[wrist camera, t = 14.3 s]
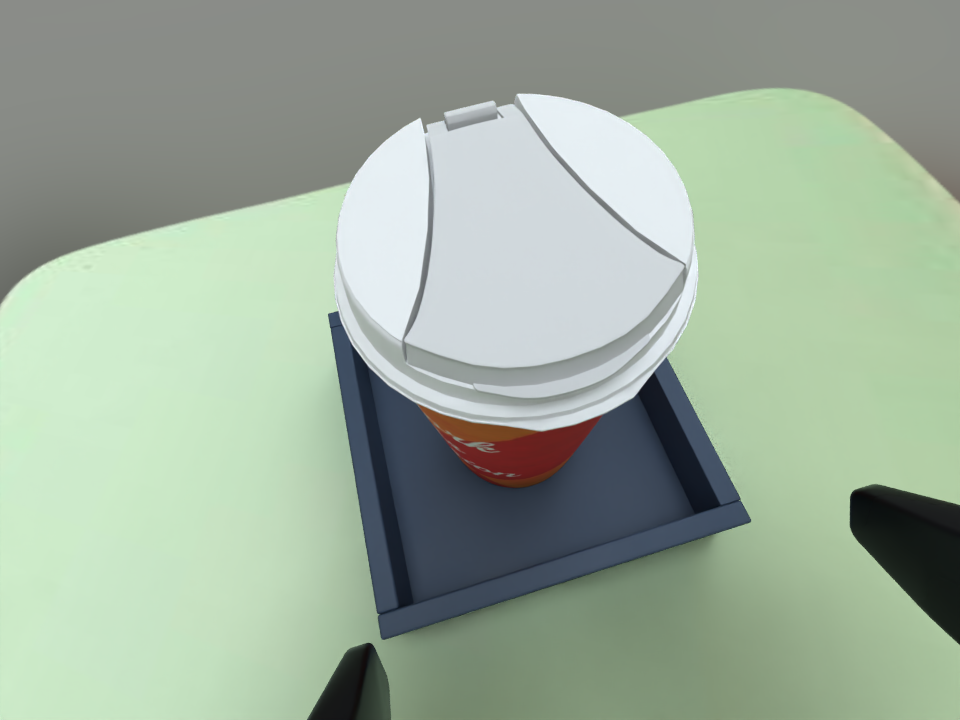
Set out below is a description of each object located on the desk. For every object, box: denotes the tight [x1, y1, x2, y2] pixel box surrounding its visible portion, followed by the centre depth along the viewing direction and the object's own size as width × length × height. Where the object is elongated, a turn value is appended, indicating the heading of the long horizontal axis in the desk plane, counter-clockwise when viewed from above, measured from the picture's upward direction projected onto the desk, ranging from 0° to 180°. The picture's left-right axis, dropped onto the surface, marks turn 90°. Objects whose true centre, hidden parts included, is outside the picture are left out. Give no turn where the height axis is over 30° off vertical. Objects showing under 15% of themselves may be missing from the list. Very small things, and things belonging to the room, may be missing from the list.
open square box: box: [328, 311, 751, 640], centre depth 21 cm, size 14×14×4 cm
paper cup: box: [334, 94, 698, 488], centre depth 15 cm, size 8×8×14 cm
